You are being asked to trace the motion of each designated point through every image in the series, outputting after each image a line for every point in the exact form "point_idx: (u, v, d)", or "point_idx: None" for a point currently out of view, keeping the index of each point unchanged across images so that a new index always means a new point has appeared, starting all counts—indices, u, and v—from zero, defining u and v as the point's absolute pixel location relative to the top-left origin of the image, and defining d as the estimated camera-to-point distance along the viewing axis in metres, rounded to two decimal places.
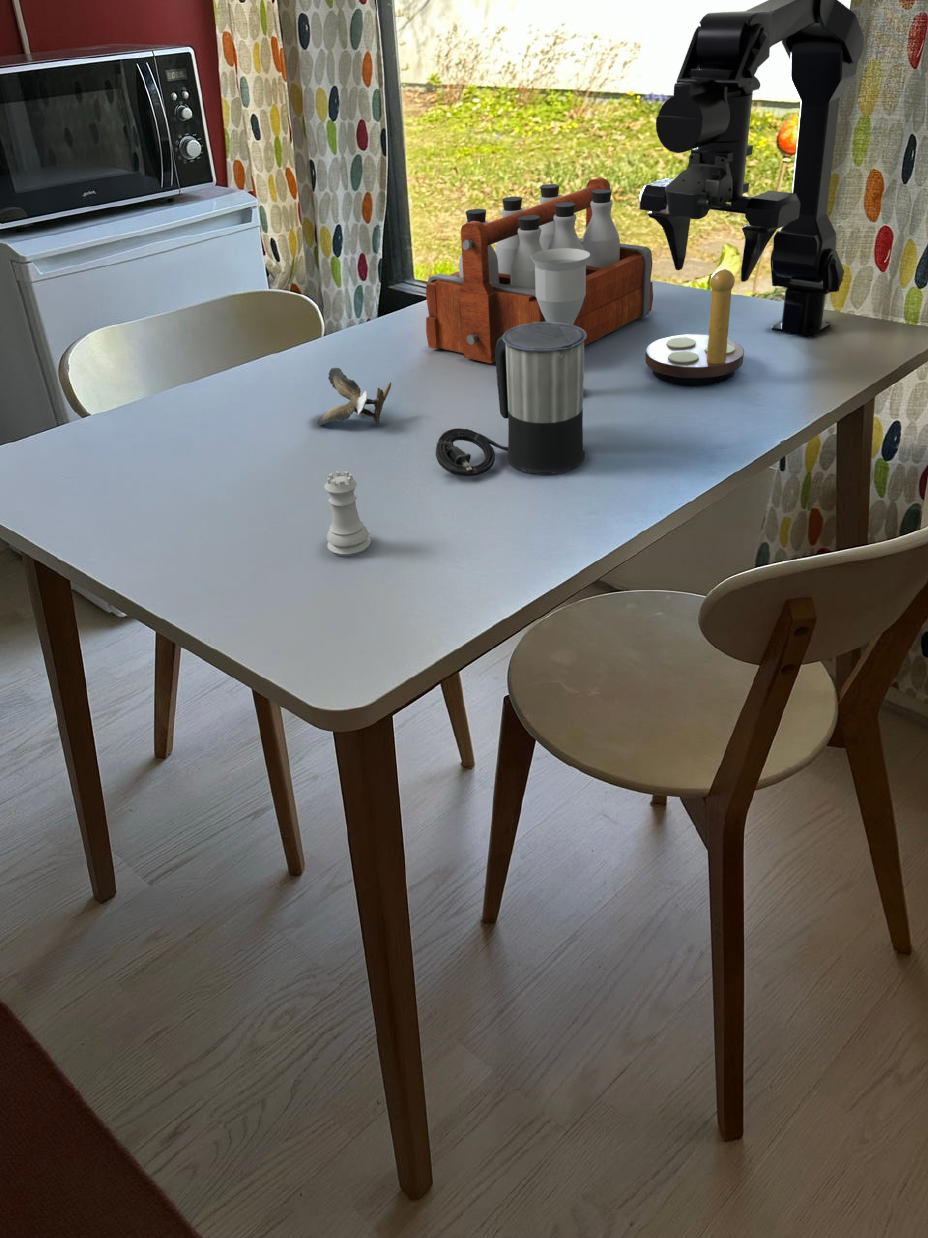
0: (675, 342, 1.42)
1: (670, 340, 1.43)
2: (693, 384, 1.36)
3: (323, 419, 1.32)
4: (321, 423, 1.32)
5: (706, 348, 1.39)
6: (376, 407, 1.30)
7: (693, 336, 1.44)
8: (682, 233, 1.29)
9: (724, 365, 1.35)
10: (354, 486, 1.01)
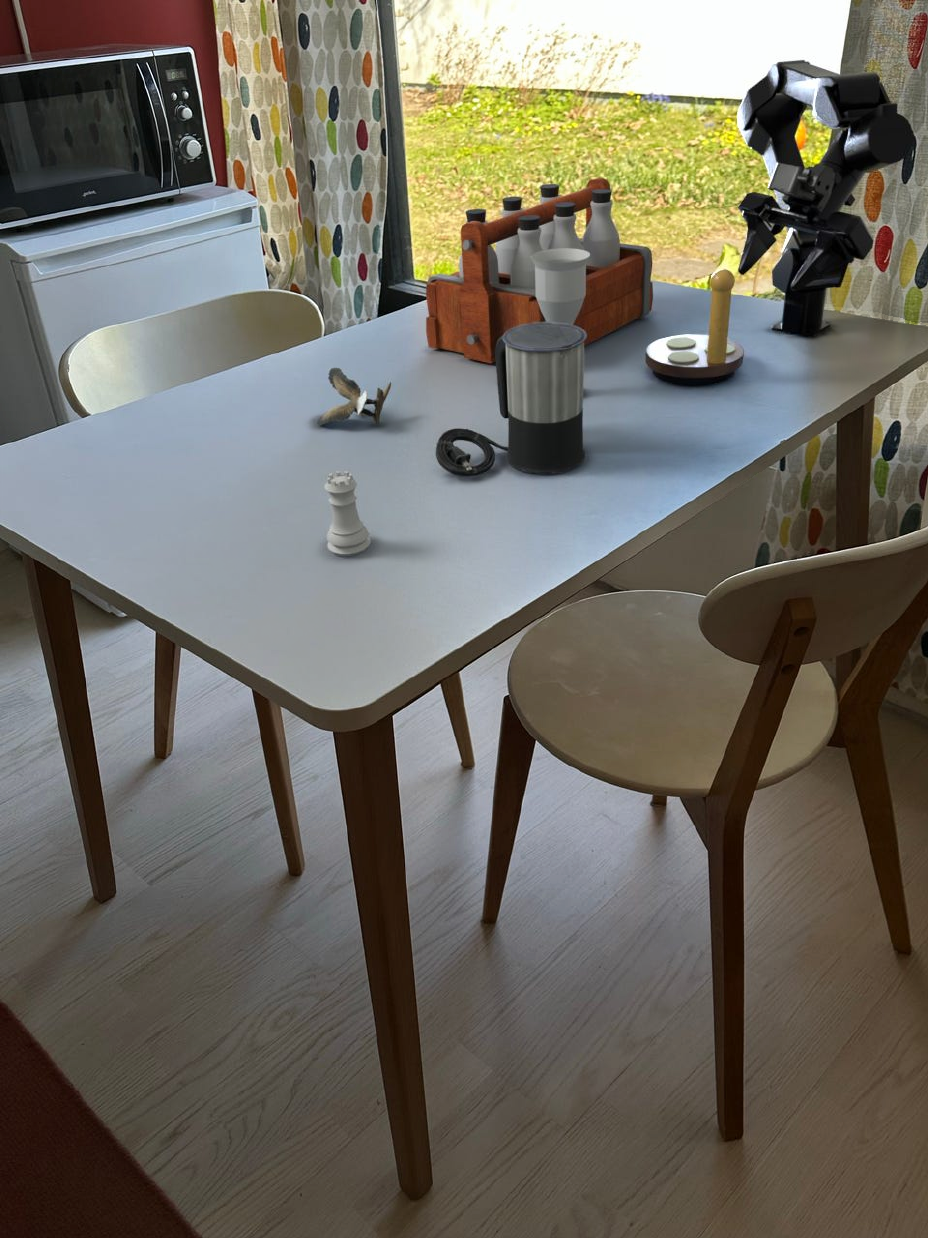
0: (675, 342, 1.42)
1: (670, 340, 1.43)
2: (693, 384, 1.36)
3: (323, 419, 1.32)
4: (321, 423, 1.32)
5: (706, 348, 1.39)
6: (376, 407, 1.30)
7: (693, 336, 1.44)
8: (759, 247, 1.38)
9: (724, 365, 1.35)
10: (354, 486, 1.01)
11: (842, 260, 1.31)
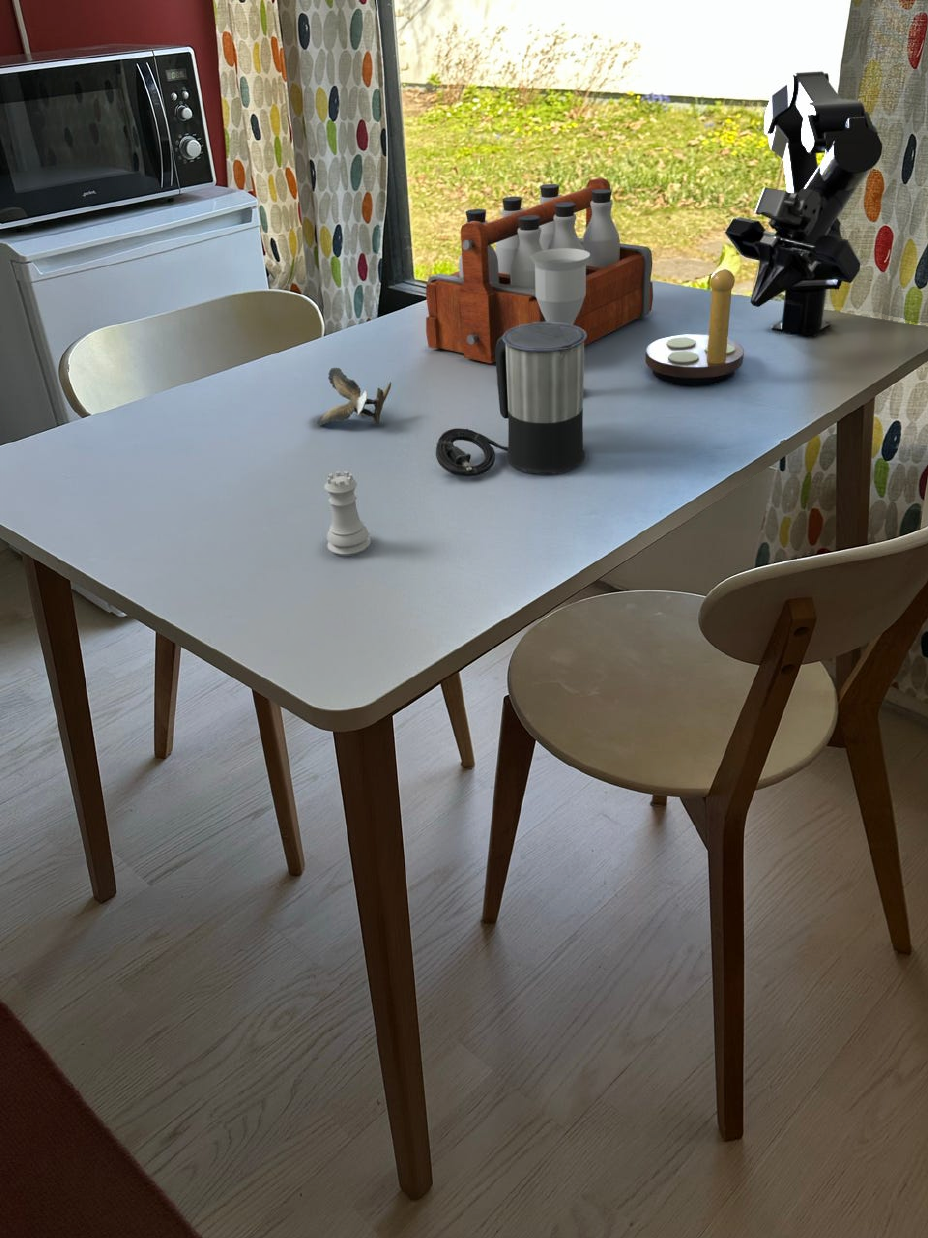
0: (675, 342, 1.42)
1: (670, 340, 1.43)
2: (693, 384, 1.36)
3: (323, 419, 1.32)
4: (321, 423, 1.32)
5: (706, 348, 1.39)
6: (376, 407, 1.30)
7: (693, 336, 1.44)
8: None
9: (724, 365, 1.35)
10: (354, 486, 1.01)
11: (802, 276, 1.34)
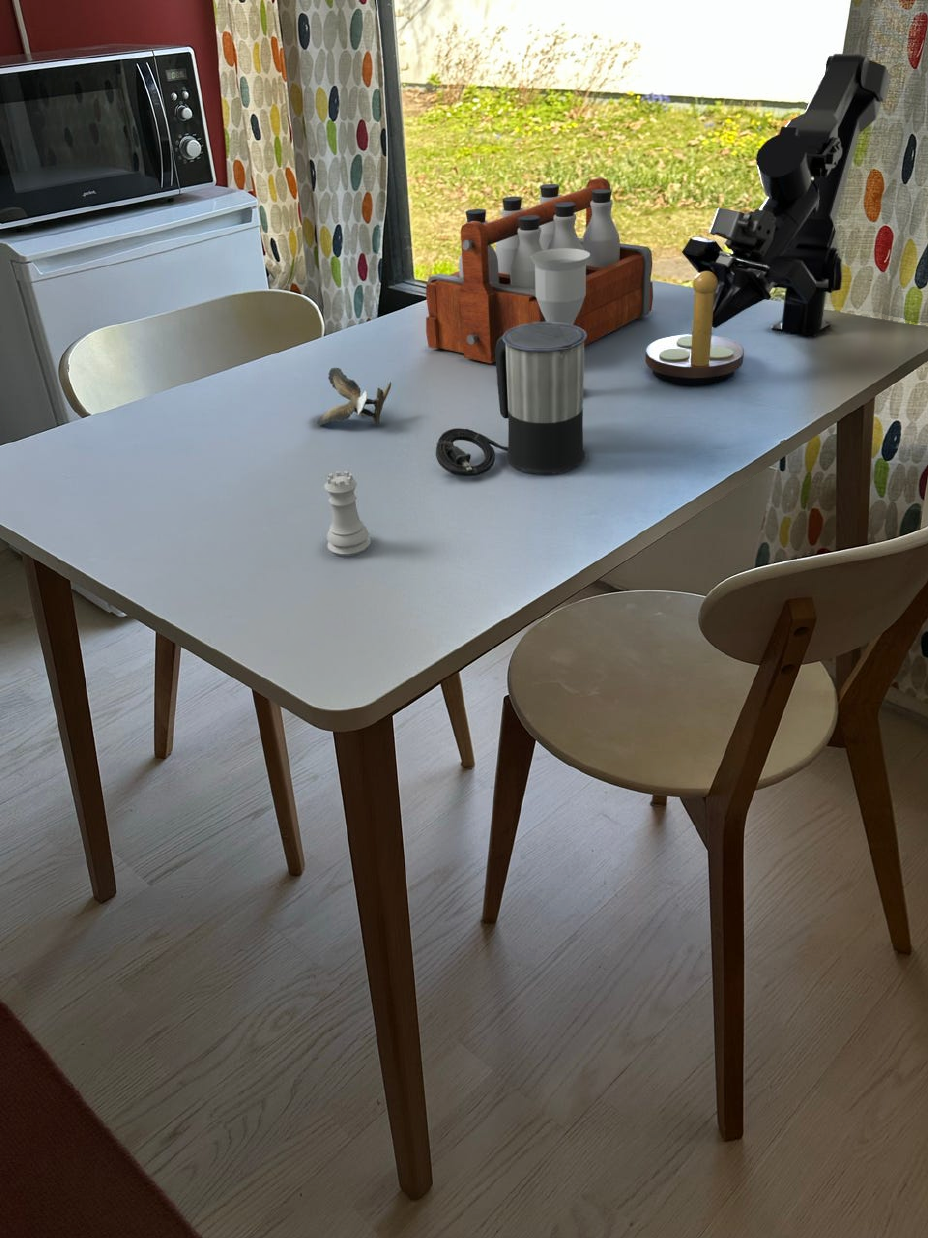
0: (685, 340, 1.42)
1: (683, 337, 1.43)
2: (693, 384, 1.36)
3: (323, 419, 1.32)
4: (321, 423, 1.32)
5: None
6: (376, 407, 1.30)
7: (711, 337, 1.43)
8: None
9: (703, 368, 1.34)
10: (354, 486, 1.01)
11: (760, 297, 1.33)
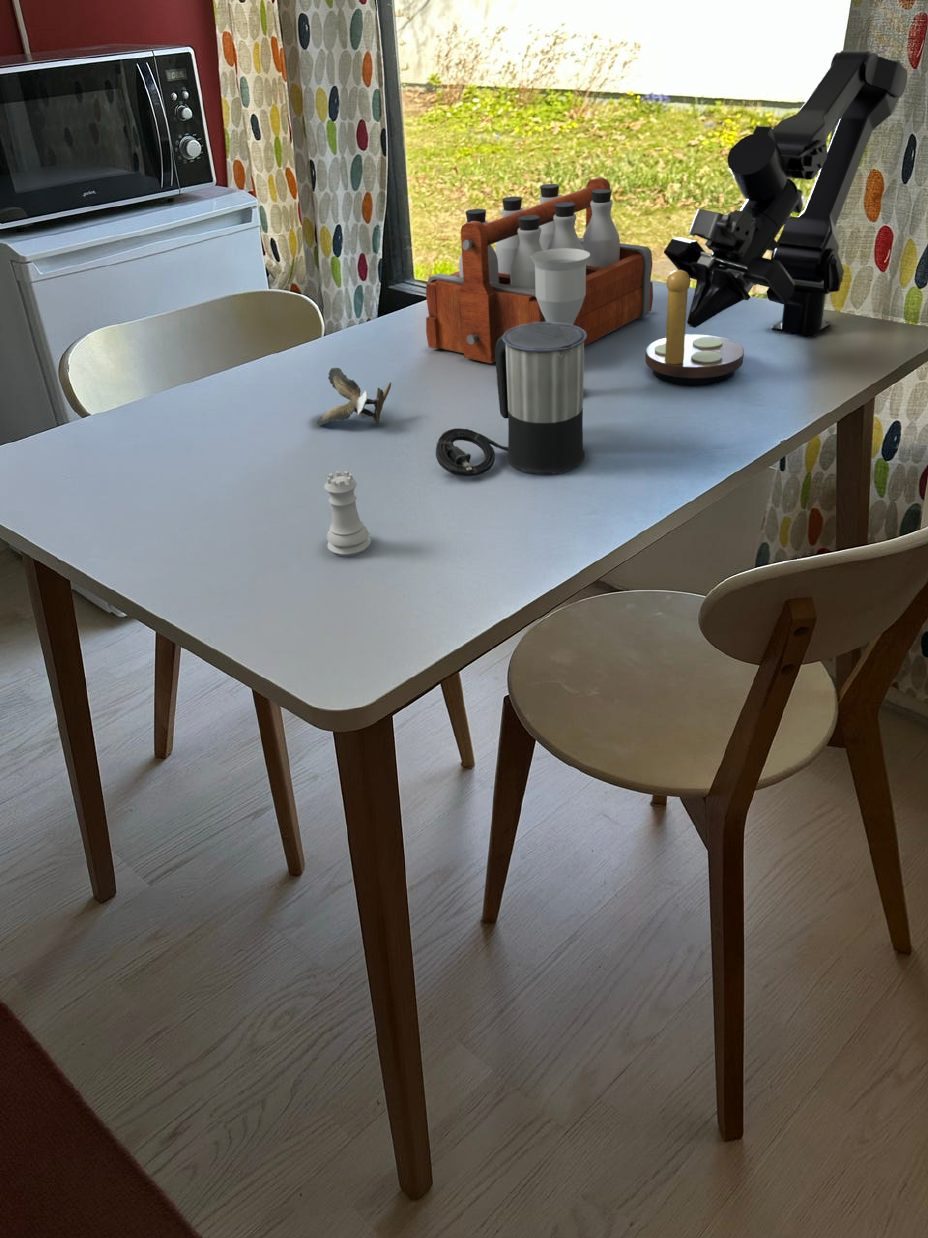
0: (703, 340, 1.42)
1: (707, 338, 1.43)
2: (693, 384, 1.36)
3: (323, 419, 1.32)
4: (321, 423, 1.32)
5: (700, 352, 1.38)
6: (376, 407, 1.30)
7: (732, 344, 1.41)
8: None
9: (669, 365, 1.36)
10: (354, 486, 1.01)
11: (739, 297, 1.34)
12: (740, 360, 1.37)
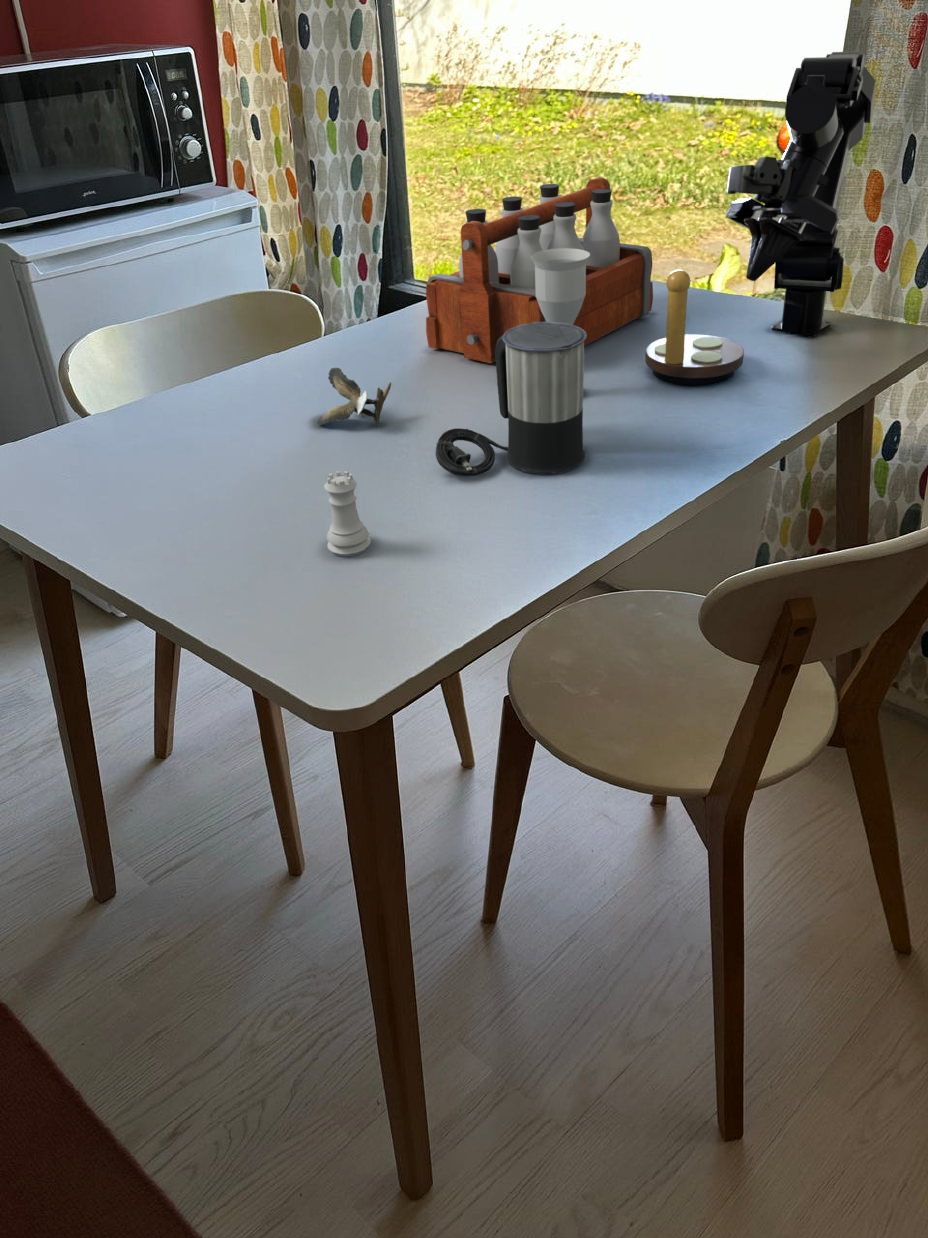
0: (703, 340, 1.42)
1: (707, 338, 1.43)
2: (693, 384, 1.36)
3: (323, 419, 1.32)
4: (321, 423, 1.32)
5: (700, 352, 1.38)
6: (376, 407, 1.30)
7: (732, 344, 1.41)
8: None
9: (669, 365, 1.36)
10: (354, 486, 1.01)
11: (795, 240, 1.33)
12: (740, 360, 1.37)
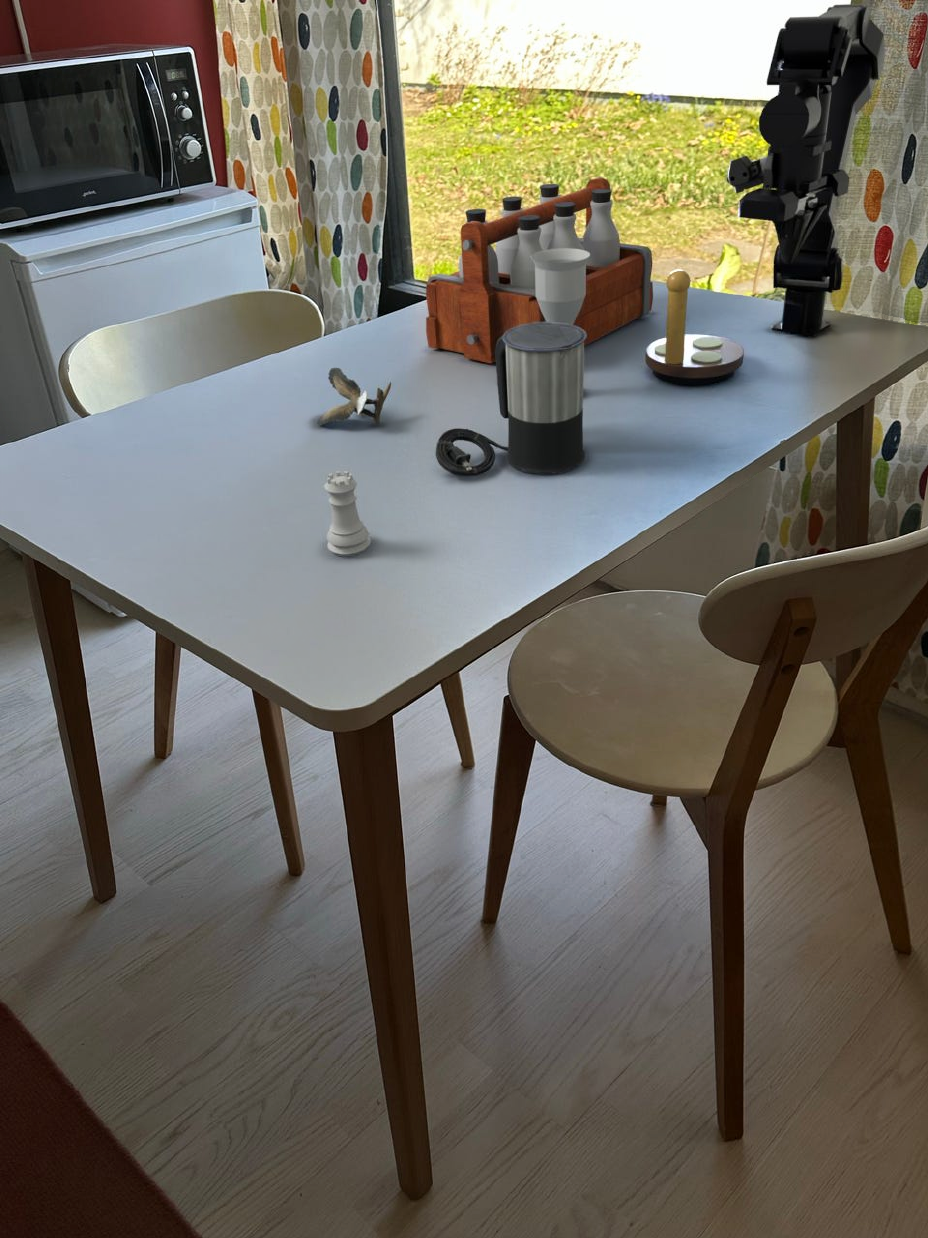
0: (703, 340, 1.42)
1: (707, 338, 1.43)
2: (693, 384, 1.36)
3: (323, 419, 1.32)
4: (321, 423, 1.32)
5: (700, 352, 1.38)
6: (376, 407, 1.30)
7: (732, 344, 1.41)
8: None
9: (669, 365, 1.36)
10: (354, 486, 1.01)
11: None
12: (740, 360, 1.37)
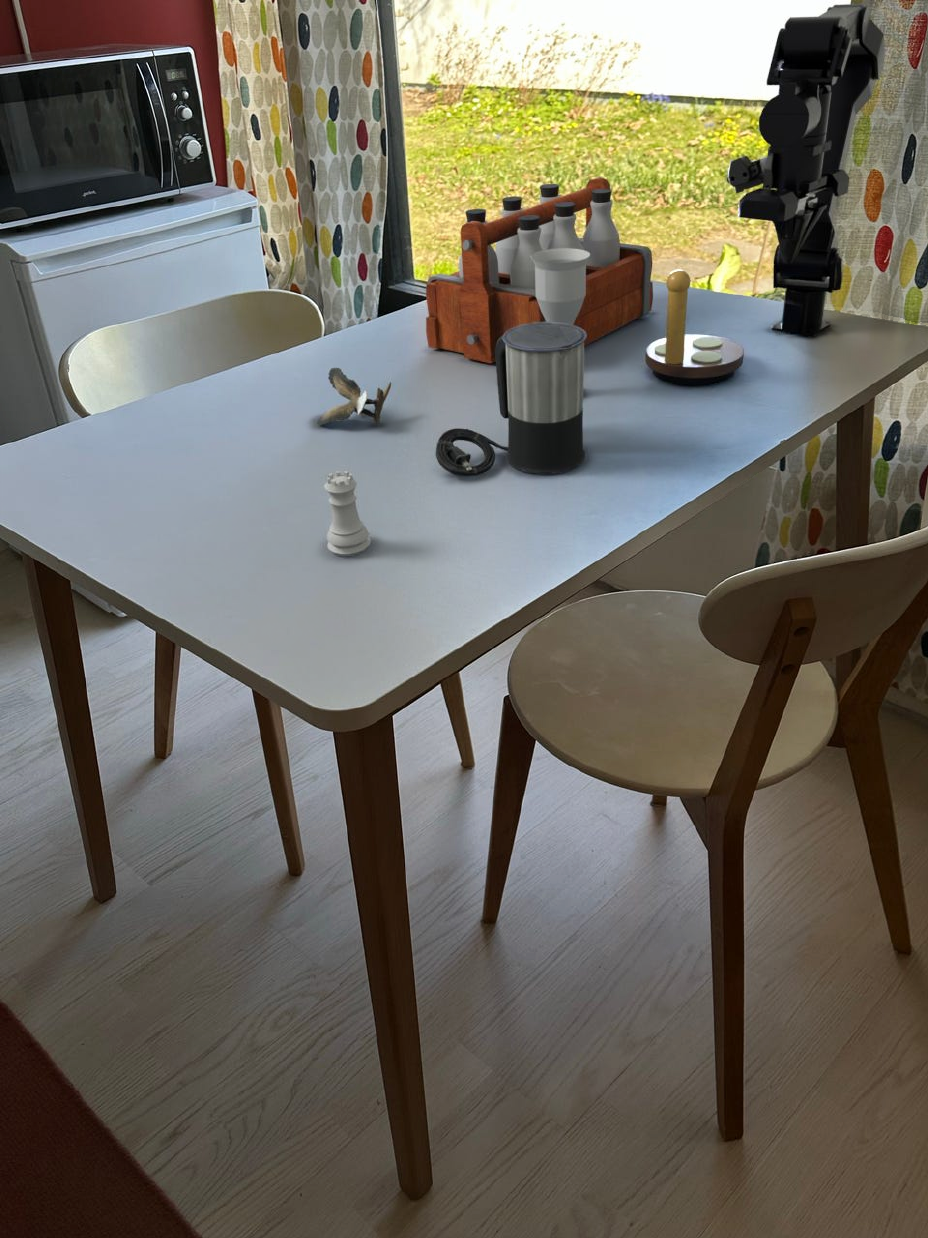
0: (703, 340, 1.42)
1: (707, 338, 1.43)
2: (693, 384, 1.36)
3: (323, 419, 1.32)
4: (321, 423, 1.32)
5: (700, 352, 1.38)
6: (376, 407, 1.30)
7: (732, 344, 1.41)
8: None
9: (669, 365, 1.36)
10: (354, 486, 1.01)
11: None
12: (740, 360, 1.37)
